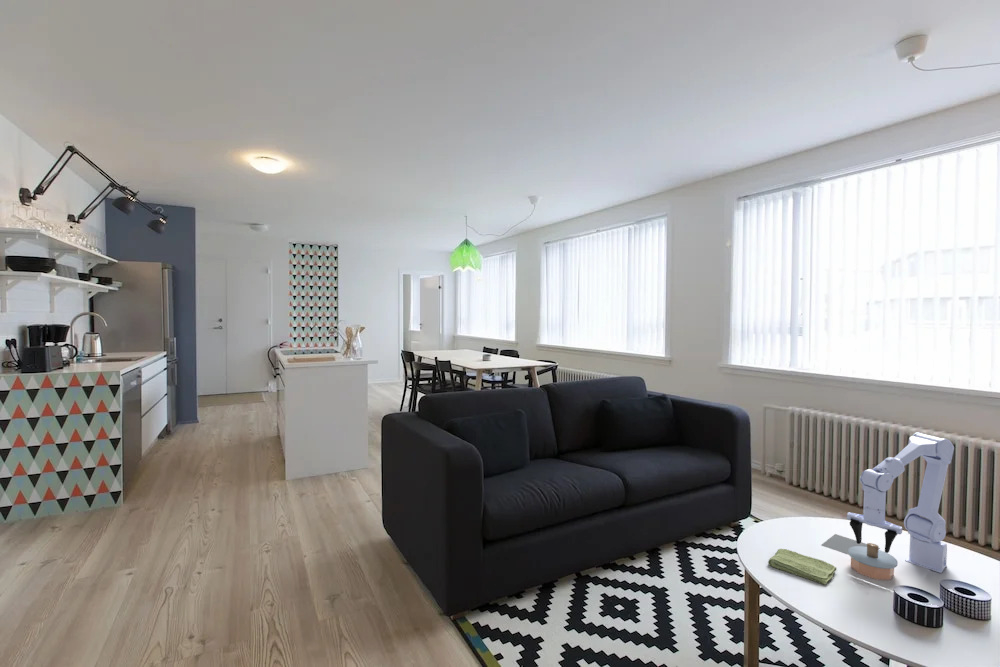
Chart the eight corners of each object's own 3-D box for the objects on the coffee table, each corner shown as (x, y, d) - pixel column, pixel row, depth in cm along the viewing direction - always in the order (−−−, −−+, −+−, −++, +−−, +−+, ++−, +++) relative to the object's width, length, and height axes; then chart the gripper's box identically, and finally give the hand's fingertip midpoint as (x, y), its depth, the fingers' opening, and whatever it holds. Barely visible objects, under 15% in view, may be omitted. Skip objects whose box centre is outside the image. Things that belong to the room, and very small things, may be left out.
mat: (879, 549, 177) (879, 548, 177) (866, 561, 168) (866, 560, 168) (835, 534, 188) (835, 533, 188) (820, 546, 179) (821, 545, 179)
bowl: (896, 572, 161) (897, 559, 161) (886, 584, 155) (887, 570, 154) (858, 559, 170) (858, 547, 169) (847, 569, 163) (847, 556, 163)
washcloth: (827, 588, 153) (828, 578, 153) (766, 567, 166) (766, 558, 166) (837, 572, 163) (837, 562, 162) (778, 553, 175) (779, 544, 175)
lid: (901, 559, 161) (902, 546, 161) (891, 573, 153) (892, 559, 153) (854, 544, 171) (855, 532, 171) (842, 557, 163) (843, 544, 163)
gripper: (844, 503, 164) (842, 542, 165) (898, 517, 153) (896, 560, 154) (851, 497, 168) (850, 536, 169) (904, 511, 157) (903, 552, 158)
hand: (872, 547), depth 162 cm, fingers open, 7 cm apart
